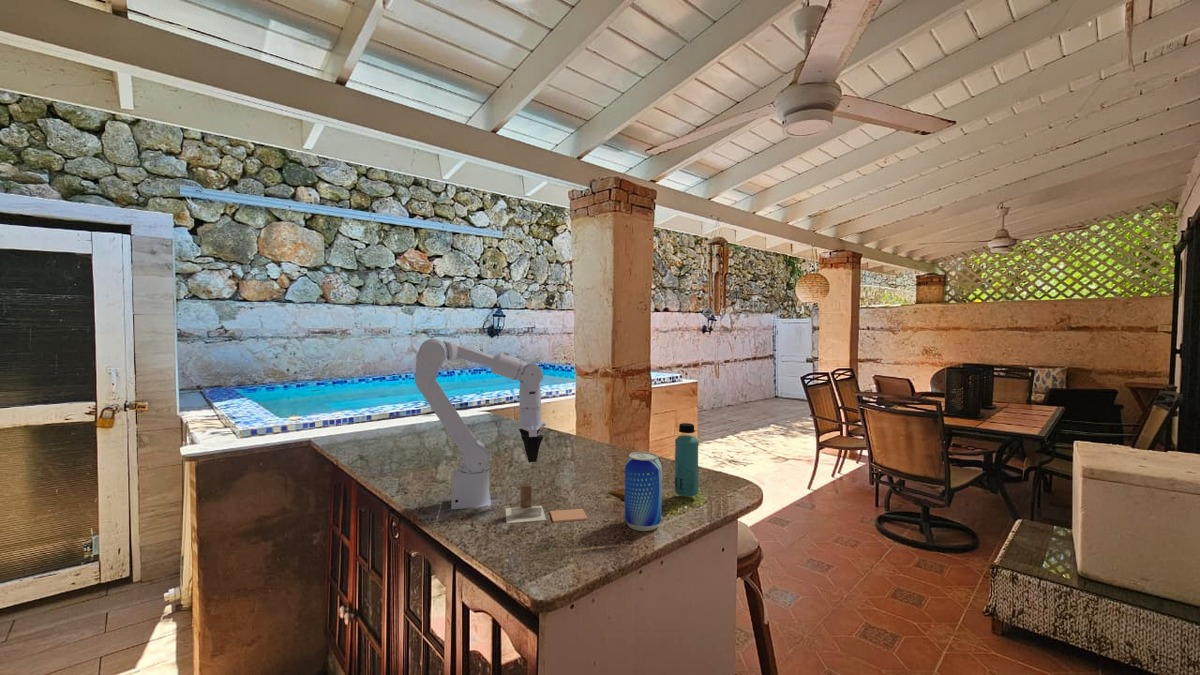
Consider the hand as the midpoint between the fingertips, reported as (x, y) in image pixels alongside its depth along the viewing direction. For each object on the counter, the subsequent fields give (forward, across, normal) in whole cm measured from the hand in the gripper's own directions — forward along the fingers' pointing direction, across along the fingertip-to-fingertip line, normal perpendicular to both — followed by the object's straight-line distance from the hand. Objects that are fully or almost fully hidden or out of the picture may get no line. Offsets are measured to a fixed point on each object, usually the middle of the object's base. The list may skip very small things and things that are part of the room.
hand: (531, 457), depth 124 cm
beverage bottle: (+12, -10, -40) cm, 43 cm away
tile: (+10, -14, -7) cm, 19 cm away
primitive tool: (+12, -9, -26) cm, 30 cm away
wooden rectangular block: (+10, -13, +3) cm, 17 cm away
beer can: (+11, -24, -23) cm, 35 cm away
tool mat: (+10, -13, +3) cm, 17 cm away
